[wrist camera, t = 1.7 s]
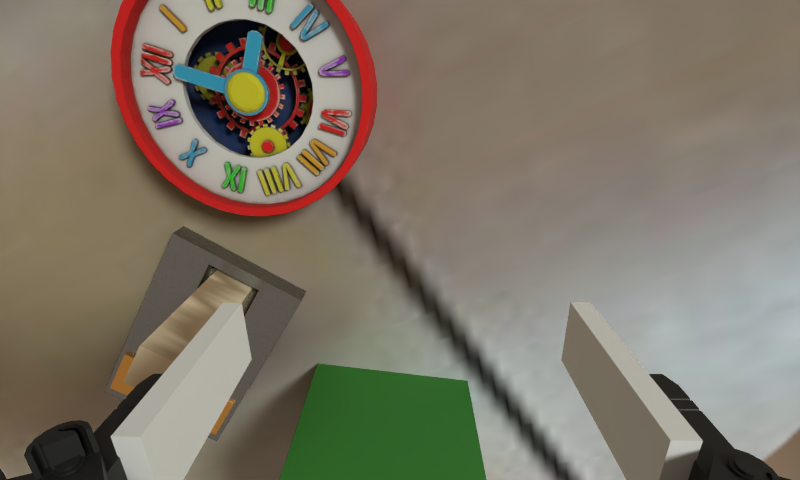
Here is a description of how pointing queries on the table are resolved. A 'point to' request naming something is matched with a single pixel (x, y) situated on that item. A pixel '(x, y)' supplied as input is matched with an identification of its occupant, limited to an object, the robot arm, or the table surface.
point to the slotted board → (180, 279)
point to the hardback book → (384, 428)
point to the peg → (185, 325)
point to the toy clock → (245, 97)
